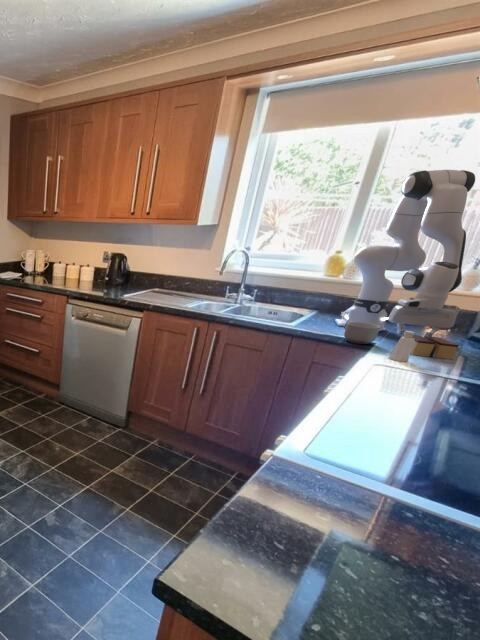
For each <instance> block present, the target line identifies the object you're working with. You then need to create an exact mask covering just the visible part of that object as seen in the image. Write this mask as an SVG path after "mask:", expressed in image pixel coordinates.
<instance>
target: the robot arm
mask: <svg viewBox="0 0 480 640" xmlns="http://www.w3.org/2000/svg"><path fill="white" fill-rule="evenodd" d="M475 183H476V174H475V173H474V172H472V171H469V170H464V169H461V170H457V169H434V170H433V169H432V170H425V169H424V170H418V171H415V172H412V173H410V174H409V175H408V176H407V177H406V178H405V179H404V180H403V182H402V185H401V188H400V192H401V194H402V196H401V197H400V199H399V200H398V202H397V204H396V205H395V207H394V210H393V211H392V214H391V216H390V219H389V220H388V222H387V225H386V227H385V233H386V235H387V236H389V237H391V238H392V239H393V245H380V244H379V245H377V244H376V245H367V246H362V247H361V248H360V249H358V250H357V252H356V253H355V254H354V257H353V263H354V265H355V266H356V268H357V269H358V270H359V271H360V273H361V275H362V284H361V287H360V291H359V292H358V293H359V294H358V296H357V297H356V299H355V300H354V302H353V303H352V305H351V306H350V307H349V308H347V309H346V310H344V311H341V313H340V317H341V318H336V319H335V320H334V322H335V323H336V325H337V326H339V327H344V325H345V323H346V322H348V321H352V322H364V323H371V324H375V325H379V326H380V329H379V332H381V331H383V332H384V331H387V328H386V327H384V326H385V324H386V321H389V322H390V323H392V324H396V328H397V330H396V334H397V335H403V334H404V333H405V330H404V329H403V327H404V326H405V325H411V326H420V327H431V330H430V331H426V332H425V334H424V336H429V337H433V336H434V334H435V333H437V332H438V331H440V329H451V328H453V327H454V325H455V322H456V320H457V316H458V315H459V313H460V310H461V309H460V306H457V305H456V304H455V305H454V304H452V305H450V304H446V302H447V299H448V296H449V293H451V292H454V291H455V290H456V289H458V287H459V286H460V285H461V284H462V280H463V275H462V267H463V260H464V256H465V249H466V248H465V247H466V242H467V231H466V230H465V229H464V228H463V225H462V224H463V223H462V220H463V215H464V212H465V209H466V205H467V200H468V193H469V192H470V191H471V190H472V189H473V187H474V185H475ZM420 231H421V232H422V233H423V234H424V235H425V236H427V237H428V238H430V239H432V240H435V241H436V242H438V243H440V244H441V245H442V247H443V257H442V261H436V262H433V263H432V264H430V265H427V266H423V265H424V263H425V262H426V259H427V253H426V251H425V249H423V248H422V247H421V245H420V243H419V233H420ZM387 271H388V272H390V271H391V272H405V273H404V275H403V276H402V278H401V283H400V284H401V287H402V288H403V289H404V290H406V291H410V292H417V294H416V296H411V297H405V298H399V299H398V300H397V304H396V305H395V306H394V307H393V308H392V309H391V311H390V313H389V315H388V313H387V311H386V309H387V307H388V306H389V299H390V297H391V294H392V292H393V290H394V283H393V281H392V280H390V279H388V278H387V277H386V274H385V273H386V272H387Z"/></svg>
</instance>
